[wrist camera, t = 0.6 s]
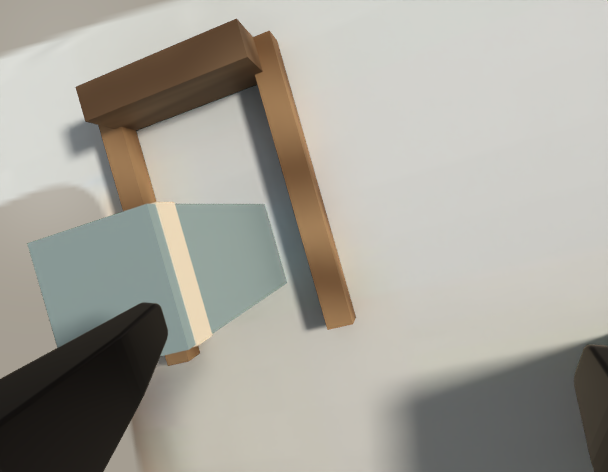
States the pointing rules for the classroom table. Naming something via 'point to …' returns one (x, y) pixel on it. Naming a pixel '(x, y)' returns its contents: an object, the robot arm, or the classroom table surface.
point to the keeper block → (160, 268)
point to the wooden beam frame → (201, 90)
